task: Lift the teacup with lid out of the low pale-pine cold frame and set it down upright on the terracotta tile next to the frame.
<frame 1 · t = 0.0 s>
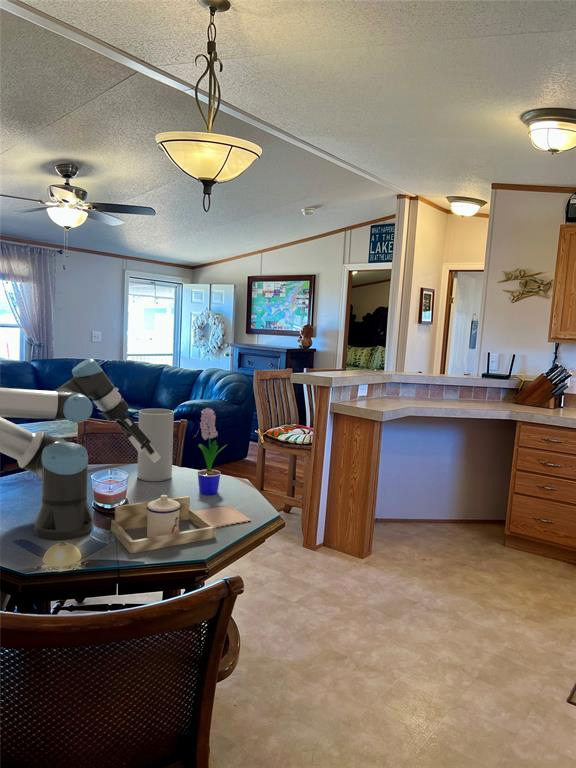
hand: (149, 455, 181), 15 cm above the table, tool tilted 35°, fingers open, 13 cm apart
cold frame: (163, 534, 156), on the table
teacup with lid: (163, 535, 156), resting in cold frame
cylinder vase: (154, 477, 209), on the table
terracotta tile: (219, 517, 171), on the table
hyacinth: (210, 493, 194), on the table
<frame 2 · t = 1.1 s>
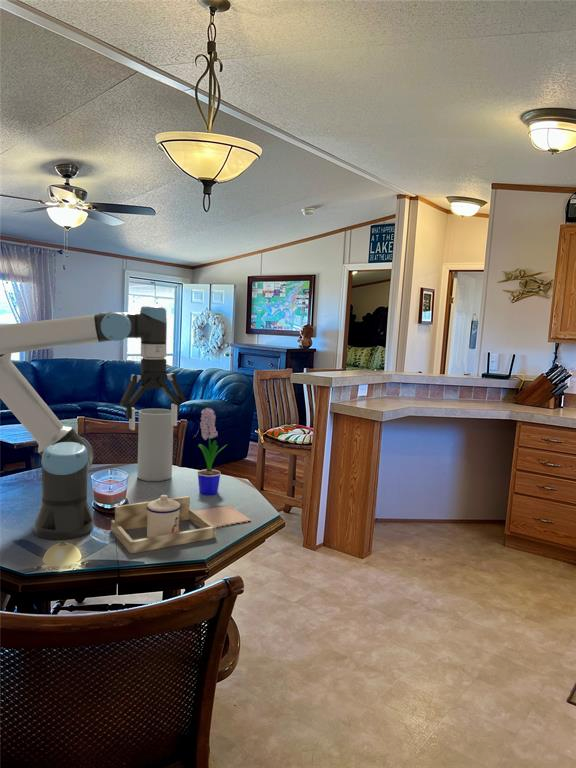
hand: (153, 427, 171), 26 cm above the table, tool pointing down, fingers open, 13 cm apart
nothing on the table moved.
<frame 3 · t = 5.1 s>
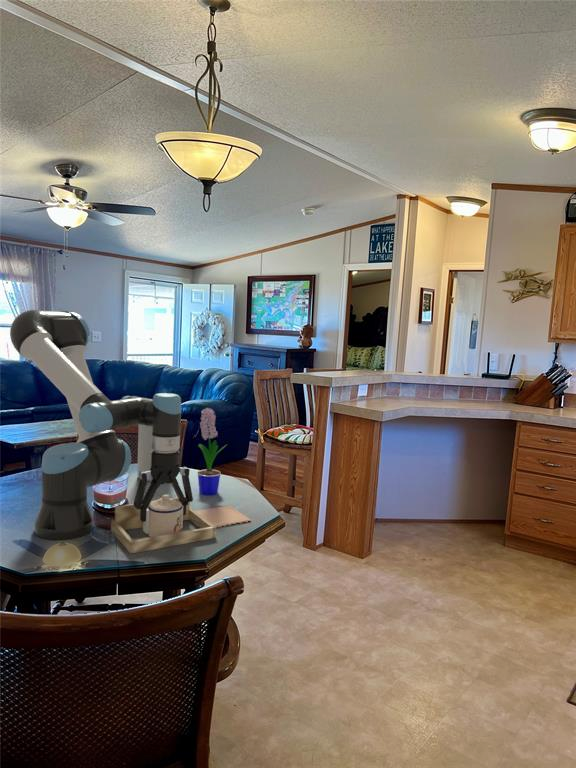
hand: (163, 529, 155), 2 cm above the table, tool pointing down, fingers closed on teacup with lid, 9 cm apart
teacup with lid: (164, 534, 156), resting in cold frame, touching gripper
everything else where it was.
when the fingers open (3 cm above the table, at t = 13.9 s): teacup with lid moves 1 cm, resting on terracotta tile.
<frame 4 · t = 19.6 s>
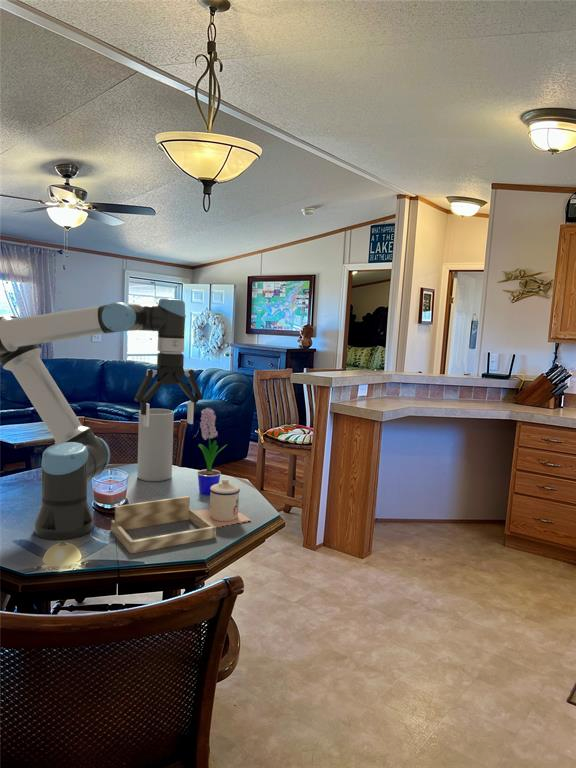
hand: (168, 424, 164), 29 cm above the table, tool pointing down, fingers open, 13 cm apart
teacup with lid: (223, 515, 172), resting on terracotta tile
everything else where it was.
at the end: teacup with lid inside the target area on the terracotta tile (1.3 cm from its centre), point 0.4 cm above the terracotta tile's base; teacup with lid tilted 0°; the gripper is holding nothing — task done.
